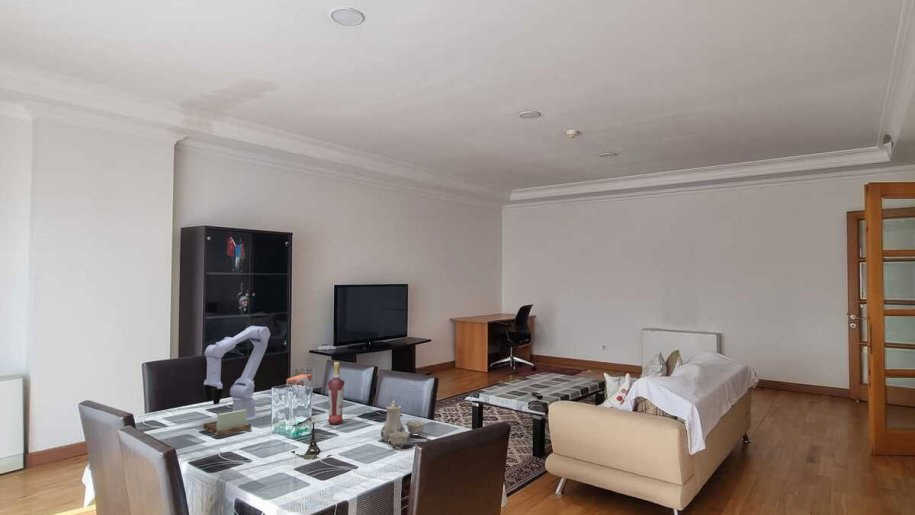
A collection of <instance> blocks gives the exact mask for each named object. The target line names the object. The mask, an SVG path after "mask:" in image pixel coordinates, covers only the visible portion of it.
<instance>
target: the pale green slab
mask: <svg viewBox="0 0 915 515" xmlns="http://www.w3.org/2000/svg"><path fill="white" fill-rule="evenodd" d="M216 415H217V417H216V418H217V419H216V421H217V434H218V430H223V429H228V428H233V427H238V426H243V425H248V424H247V423H248V418H247V410H245V409H244V410H238V411H233V410H232V411H228V412H227V411H226V412H222V413H217V414H216Z"/></svg>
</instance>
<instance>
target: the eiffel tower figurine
mask: <svg viewBox="0 0 915 515" xmlns="http://www.w3.org/2000/svg"><path fill="white" fill-rule="evenodd" d="M311 431H312V432H311V439H310V444H309V446H308V448H307V450H306V452H305V453H303V454H304V455H298V454H299V453H298V454H295V455H296V456H298V457H300V458H303V459H304V460H318V459H317V458H319V457H317V455H319V456H320V454H321V453H322V450H321V449H320V447H319V446H318V445H319V444H317V441H316V435H315V421H313V422H312V430H311ZM295 451H296V450H292V451H290V453H293V454H294V453H295ZM320 452H321V453H320ZM319 453H320V454H319ZM319 459H320V458H319Z"/></svg>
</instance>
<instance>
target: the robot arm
mask: <svg viewBox="0 0 915 515" xmlns="http://www.w3.org/2000/svg"><path fill="white" fill-rule="evenodd" d="M270 336H271V332H270V329H269V328H268V327H267V326H257V325H251V326H249V327H246V328H245V329H244V330H243V331H241V332H240V333H238V334H236V335H235V336H233V337H230V336H225V337H224V338H223V339H221V341H217V342H215V344H209V345H208V346H207V347H206V349H205V350H204V354H203V355H204V356H205V358H206V379H204V382H203V385H202V386H201V388H202V389H203V390H202V391H203V392H204V395H205V400H206V402H213V405H220V401H221V398H222V396H223V393H224V391H225V389H226V388H225V387H223V383H222V381H221V374H222V359H223V357H224V355H225V354H226V353H228V352H230V351H232V350H233V349H234V348H236V347H237V346H236V345H237V344H239V343H241V342H244V341H246V340H250V342H251V343H252V344H253V349H252V352H251V354H250V356H249V358H248V360H247V363H246V365H245V368H244V369H243V371H242V374H241V376H240V377H239V378H238V379H236V380H235V382H234V384H232V386H231V387H230V389H229V395H230V397H231V399H232V411H238V410H244V409H245V410H247V419H251V418H255V417H256V401H255V399H254V397H253V394H254V389H255V383H254V382H253V380H254V378H255V376H256V374H257V370H258V368H259V366H260V364H261V361H262V359H263V357H264V356H265V355H264V354H265V352H266V350H267V348H268V343H269V340H270Z"/></svg>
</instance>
